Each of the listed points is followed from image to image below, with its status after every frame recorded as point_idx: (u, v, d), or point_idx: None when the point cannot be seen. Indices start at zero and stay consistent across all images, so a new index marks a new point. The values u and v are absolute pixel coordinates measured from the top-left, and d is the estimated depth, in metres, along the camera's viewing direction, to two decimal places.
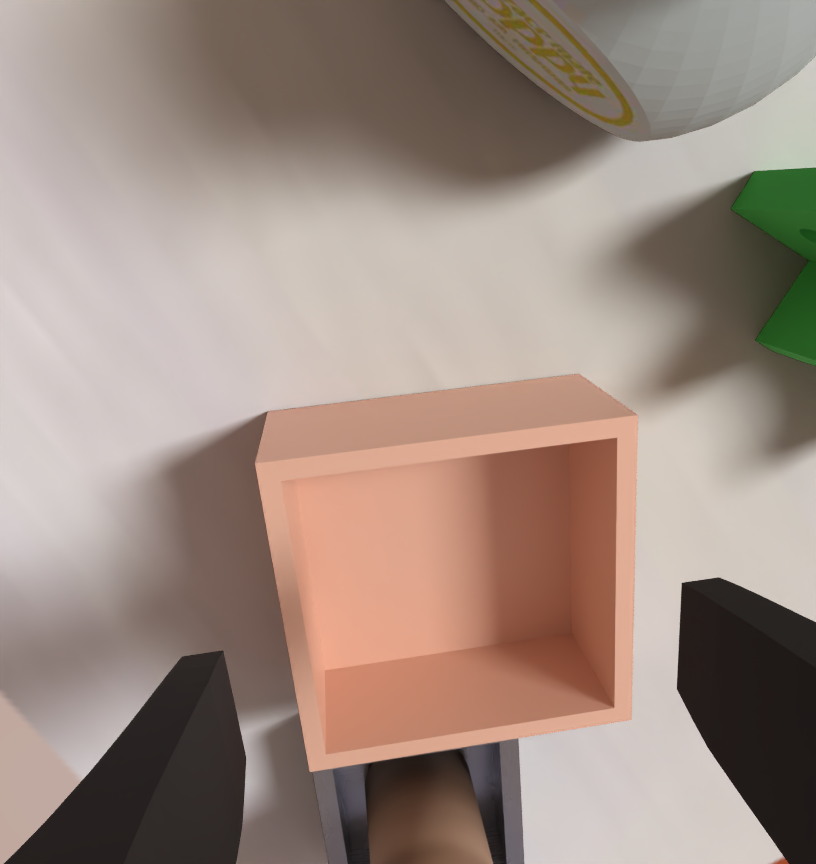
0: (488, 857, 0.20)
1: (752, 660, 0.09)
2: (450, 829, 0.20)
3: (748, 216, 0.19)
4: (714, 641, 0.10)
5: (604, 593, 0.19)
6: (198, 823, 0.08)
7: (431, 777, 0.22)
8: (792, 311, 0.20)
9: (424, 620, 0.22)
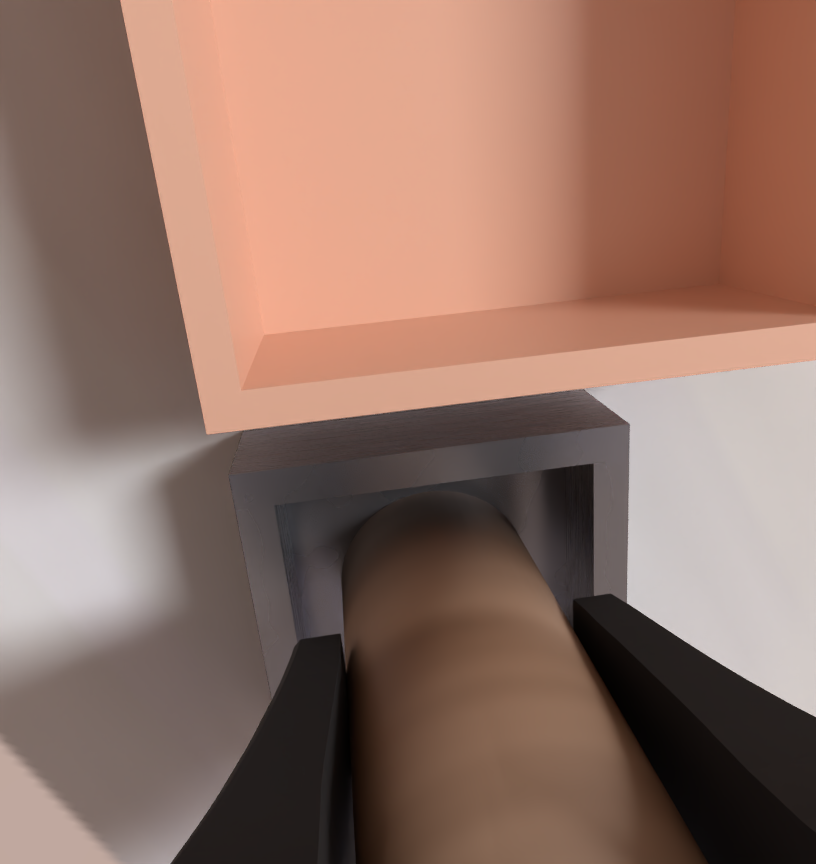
0: (586, 653, 0.10)
1: (624, 680, 0.09)
2: (508, 593, 0.10)
3: None
4: (597, 659, 0.10)
5: None
6: (343, 799, 0.08)
7: (464, 530, 0.11)
8: None
9: (450, 235, 0.11)
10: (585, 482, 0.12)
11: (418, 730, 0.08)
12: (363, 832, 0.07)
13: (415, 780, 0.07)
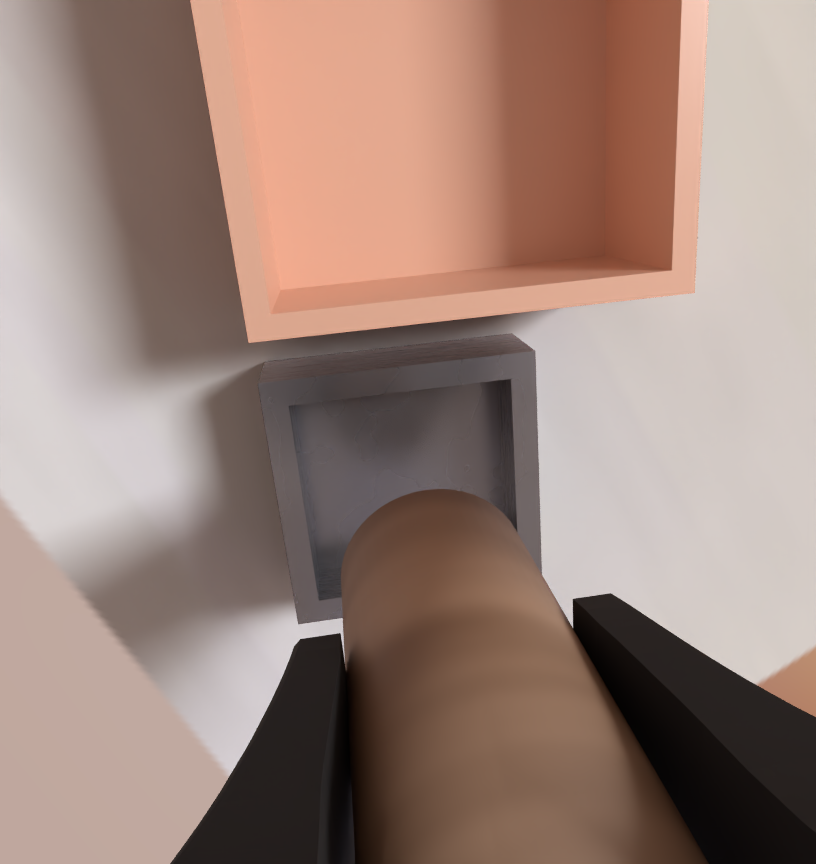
0: (584, 649, 0.10)
1: (624, 680, 0.09)
2: (507, 590, 0.10)
3: None
4: (597, 659, 0.10)
5: (658, 101, 0.14)
6: (343, 798, 0.08)
7: (463, 528, 0.11)
8: None
9: (411, 220, 0.16)
10: (507, 394, 0.17)
11: (417, 725, 0.08)
12: (362, 827, 0.07)
13: (414, 774, 0.07)
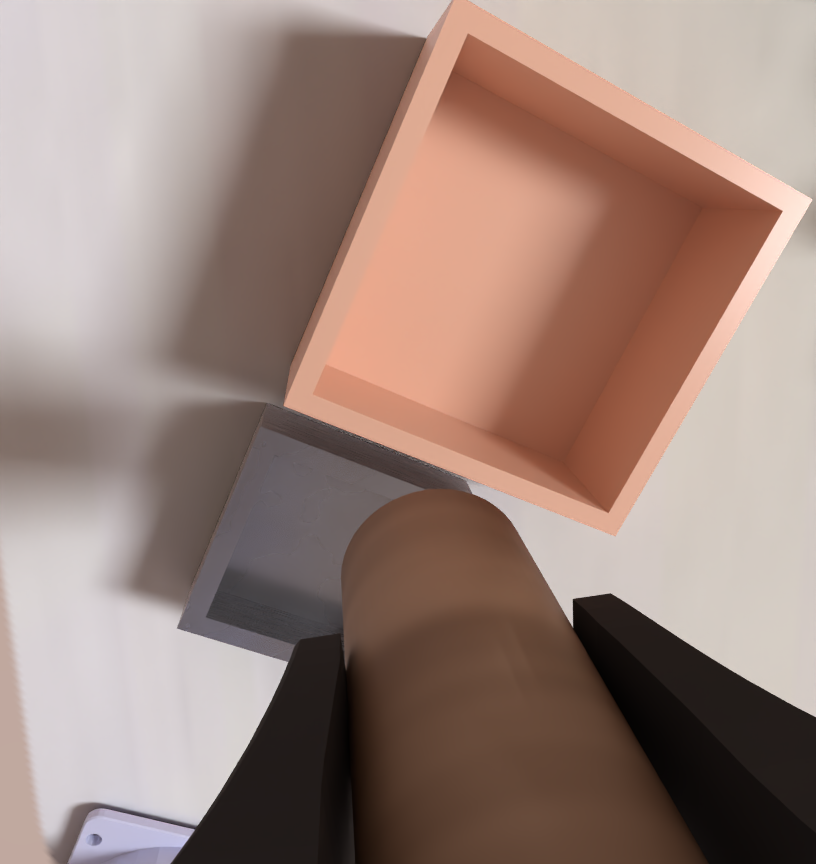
0: (585, 650, 0.10)
1: (624, 680, 0.09)
2: (507, 591, 0.10)
3: None
4: (597, 659, 0.10)
5: (657, 393, 0.18)
6: (343, 798, 0.08)
7: (463, 528, 0.11)
8: None
9: (441, 363, 0.19)
10: None
11: (418, 725, 0.08)
12: (362, 827, 0.07)
13: (414, 775, 0.07)
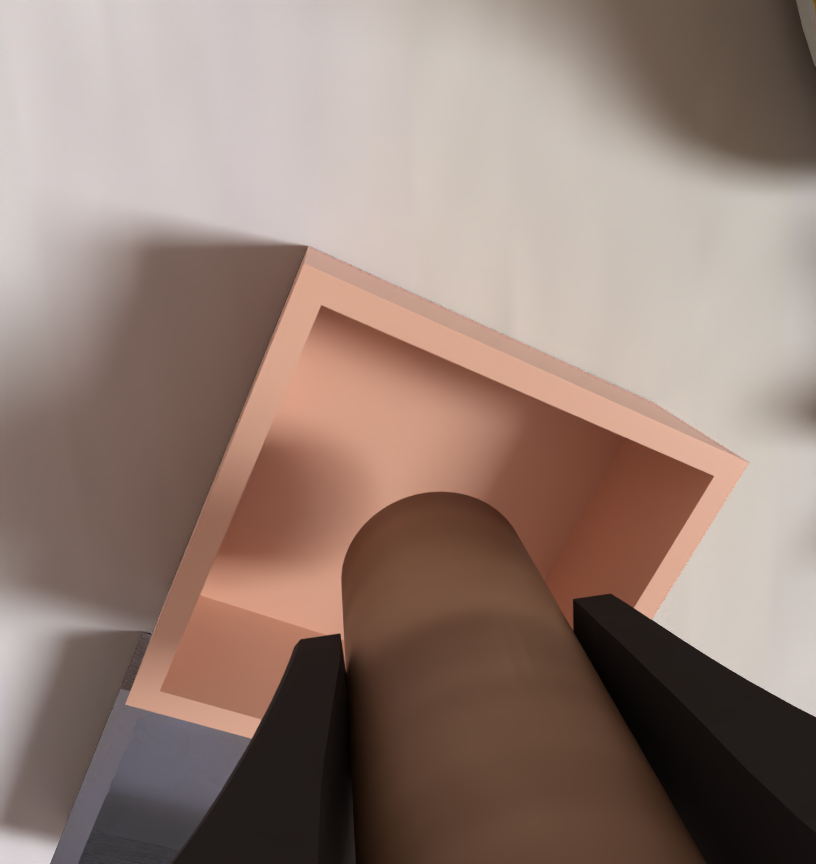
0: (587, 656, 0.10)
1: (624, 680, 0.09)
2: (511, 594, 0.10)
3: None
4: (597, 659, 0.10)
5: None
6: (343, 798, 0.08)
7: (467, 531, 0.11)
8: None
9: (340, 590, 0.17)
10: None
11: (422, 727, 0.08)
12: (365, 829, 0.07)
13: (419, 777, 0.07)
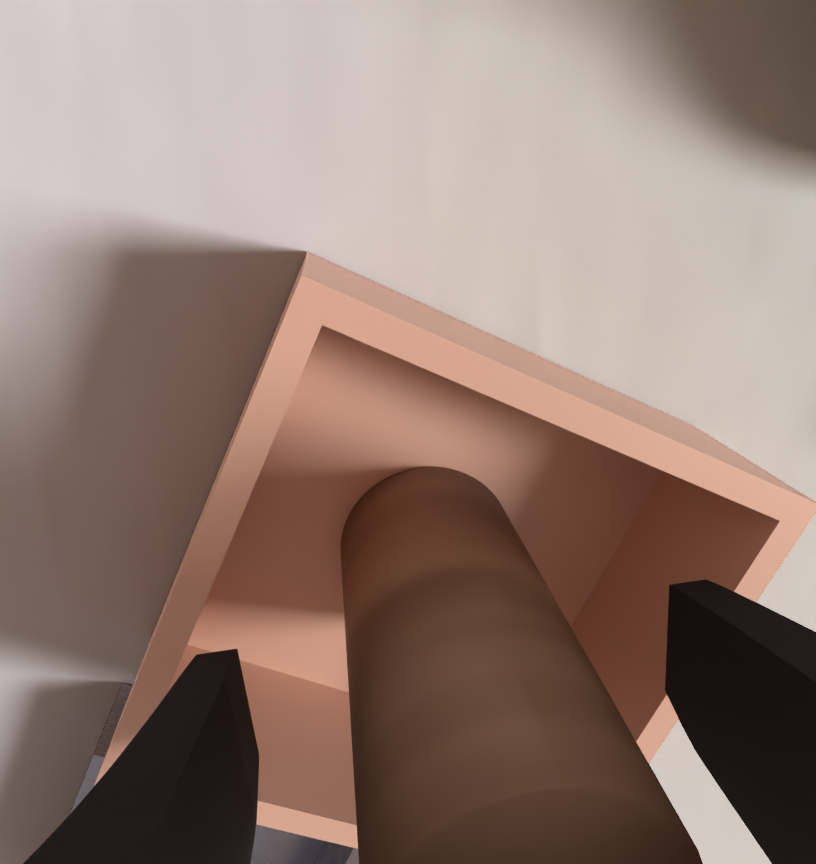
0: None
1: (737, 663, 0.09)
2: (492, 553, 0.11)
3: None
4: (700, 643, 0.10)
5: None
6: (215, 820, 0.08)
7: (454, 501, 0.13)
8: None
9: (343, 637, 0.15)
10: None
11: (411, 660, 0.09)
12: (362, 746, 0.09)
13: (408, 699, 0.08)
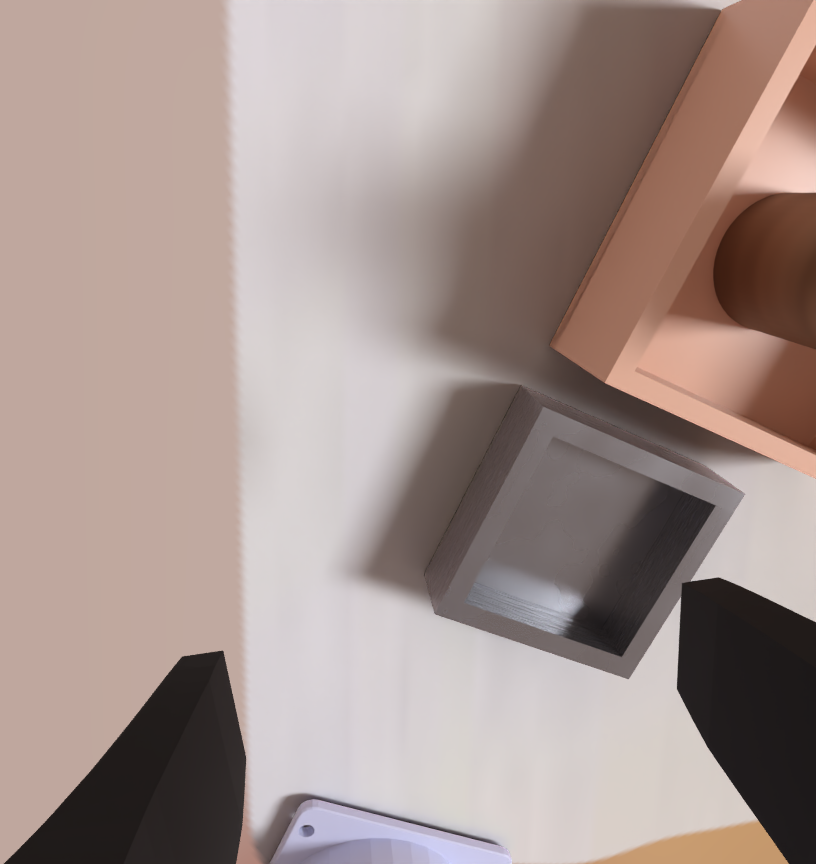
0: None
1: (752, 660, 0.09)
2: None
3: None
4: (714, 641, 0.10)
5: None
6: (198, 822, 0.08)
7: None
8: None
9: (702, 344, 0.19)
10: (699, 514, 0.19)
11: None
12: None
13: None
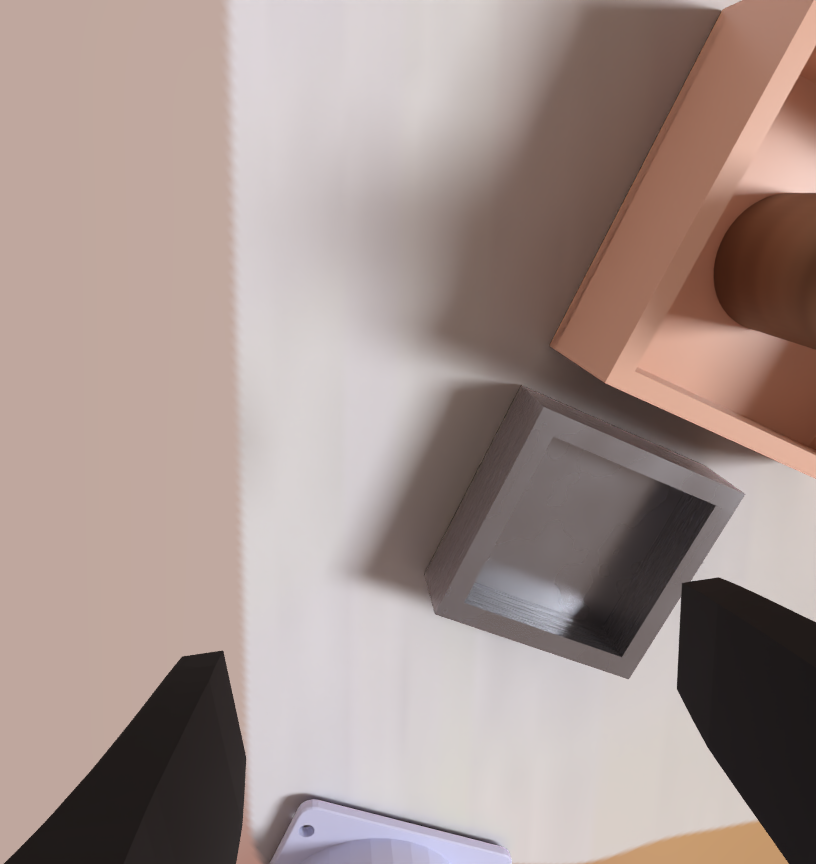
0: None
1: (752, 660, 0.09)
2: None
3: None
4: (714, 641, 0.10)
5: None
6: (198, 823, 0.08)
7: None
8: None
9: (702, 344, 0.19)
10: (699, 515, 0.19)
11: None
12: None
13: None
